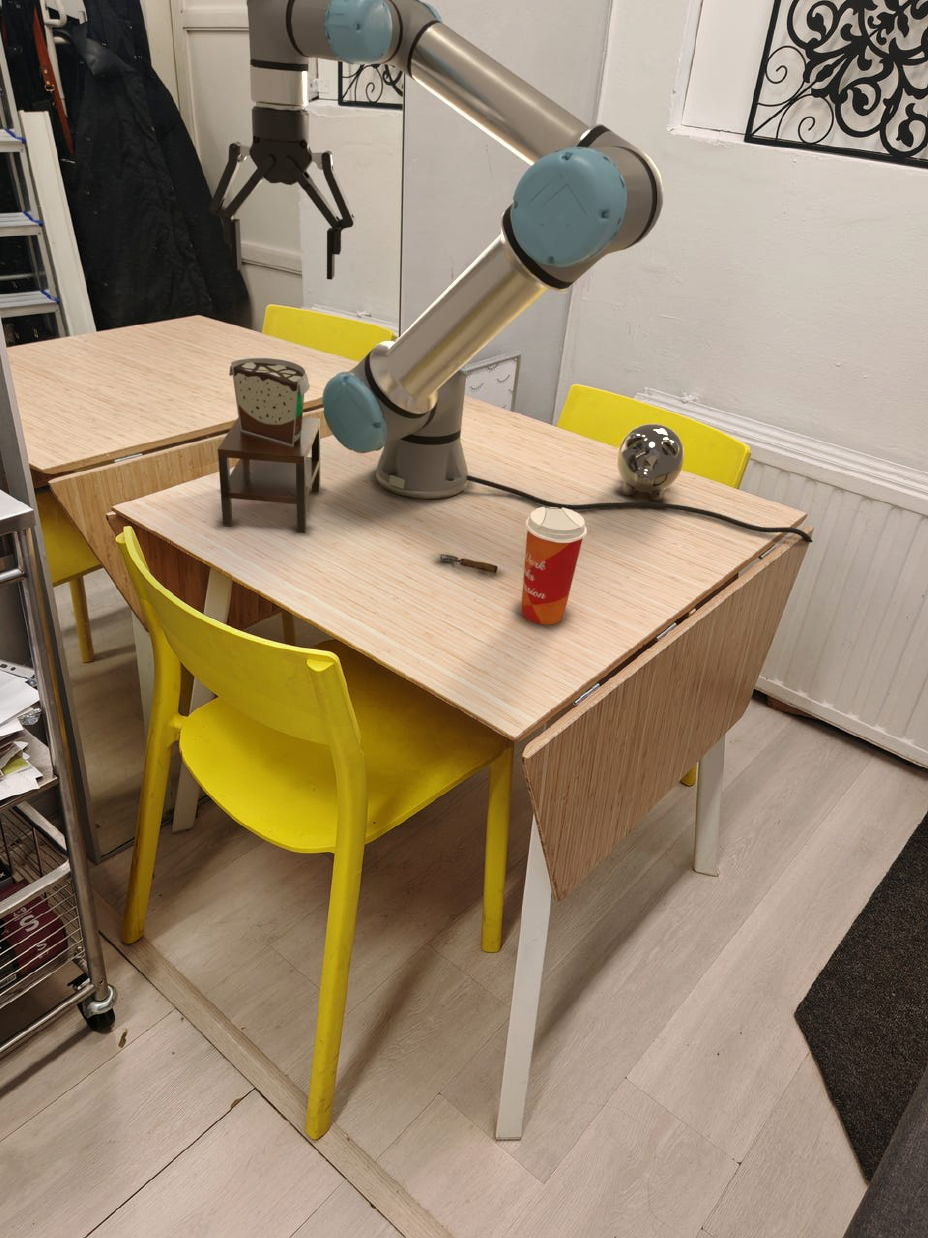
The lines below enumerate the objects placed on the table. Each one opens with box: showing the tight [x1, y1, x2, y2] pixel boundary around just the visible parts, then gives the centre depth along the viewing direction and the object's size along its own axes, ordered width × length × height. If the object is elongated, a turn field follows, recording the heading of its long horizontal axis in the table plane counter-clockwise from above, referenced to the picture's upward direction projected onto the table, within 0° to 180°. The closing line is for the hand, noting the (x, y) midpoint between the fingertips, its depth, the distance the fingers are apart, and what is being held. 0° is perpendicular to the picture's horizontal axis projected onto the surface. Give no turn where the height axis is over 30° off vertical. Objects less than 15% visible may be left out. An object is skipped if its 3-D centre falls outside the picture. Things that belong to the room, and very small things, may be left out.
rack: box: [217, 416, 321, 534], centre depth 134 cm, size 12×15×12 cm
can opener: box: [437, 553, 499, 574], centre depth 127 cm, size 9×2×1 cm, turn 65°
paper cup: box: [521, 506, 588, 626], centre depth 115 cm, size 8×8×14 cm
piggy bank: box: [616, 423, 686, 502], centre depth 151 cm, size 11×15×12 cm
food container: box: [228, 357, 311, 447], centre depth 129 cm, size 12×6×10 cm, turn 64°
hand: (283, 273), depth 131 cm, fingers open, 13 cm apart
